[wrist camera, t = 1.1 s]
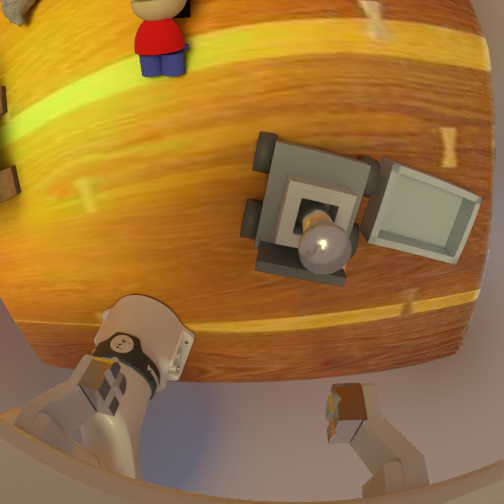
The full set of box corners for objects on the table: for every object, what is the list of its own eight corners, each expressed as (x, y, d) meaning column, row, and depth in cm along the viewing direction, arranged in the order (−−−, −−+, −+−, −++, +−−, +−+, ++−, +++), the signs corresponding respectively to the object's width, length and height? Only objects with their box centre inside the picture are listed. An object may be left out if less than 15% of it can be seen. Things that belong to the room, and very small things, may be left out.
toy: (204, 59, 35) (204, -37, 22) (187, 81, 31) (183, -34, 18) (148, 60, 35) (140, -30, 22) (125, 83, 31) (110, -22, 18)
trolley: (340, 258, 44) (357, 305, 34) (240, 238, 44) (229, 281, 33) (372, 157, 37) (405, 177, 26) (261, 129, 36) (255, 138, 26)
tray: (443, 251, 42) (455, 264, 38) (359, 229, 41) (367, 242, 37) (467, 189, 37) (482, 198, 33) (381, 156, 36) (393, 163, 32)
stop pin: (324, 228, 35) (341, 278, 25) (288, 221, 35) (293, 269, 25) (334, 194, 33) (358, 232, 23) (297, 185, 33) (306, 221, 23)
